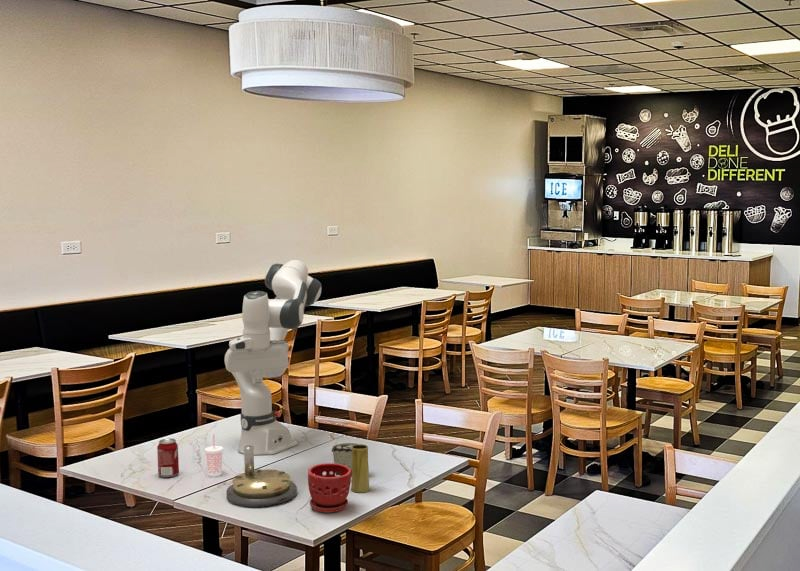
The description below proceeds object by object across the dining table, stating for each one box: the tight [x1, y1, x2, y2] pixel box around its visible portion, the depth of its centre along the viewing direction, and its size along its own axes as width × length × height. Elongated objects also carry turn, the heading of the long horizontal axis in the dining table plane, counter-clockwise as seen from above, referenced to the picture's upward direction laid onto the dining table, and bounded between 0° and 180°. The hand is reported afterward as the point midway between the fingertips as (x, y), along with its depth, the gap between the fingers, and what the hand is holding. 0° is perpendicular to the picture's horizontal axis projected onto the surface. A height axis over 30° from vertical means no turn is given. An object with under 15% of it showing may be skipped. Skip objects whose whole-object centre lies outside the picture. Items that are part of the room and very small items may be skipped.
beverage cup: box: [204, 433, 224, 477], centre depth 282 cm, size 6×6×14 cm
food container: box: [330, 442, 358, 478], centre depth 282 cm, size 12×6×10 cm, turn 71°
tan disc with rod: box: [232, 446, 291, 498], centre depth 262 cm, size 18×18×12 cm
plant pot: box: [307, 462, 352, 513], centre depth 252 cm, size 13×13×12 cm
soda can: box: [156, 438, 180, 479], centre depth 282 cm, size 7×7×12 cm
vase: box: [350, 443, 371, 494], centre depth 267 cm, size 6×6×14 cm
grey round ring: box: [225, 480, 298, 509], centre depth 263 cm, size 22×22×2 cm
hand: (257, 383), depth 273 cm, fingers closed
